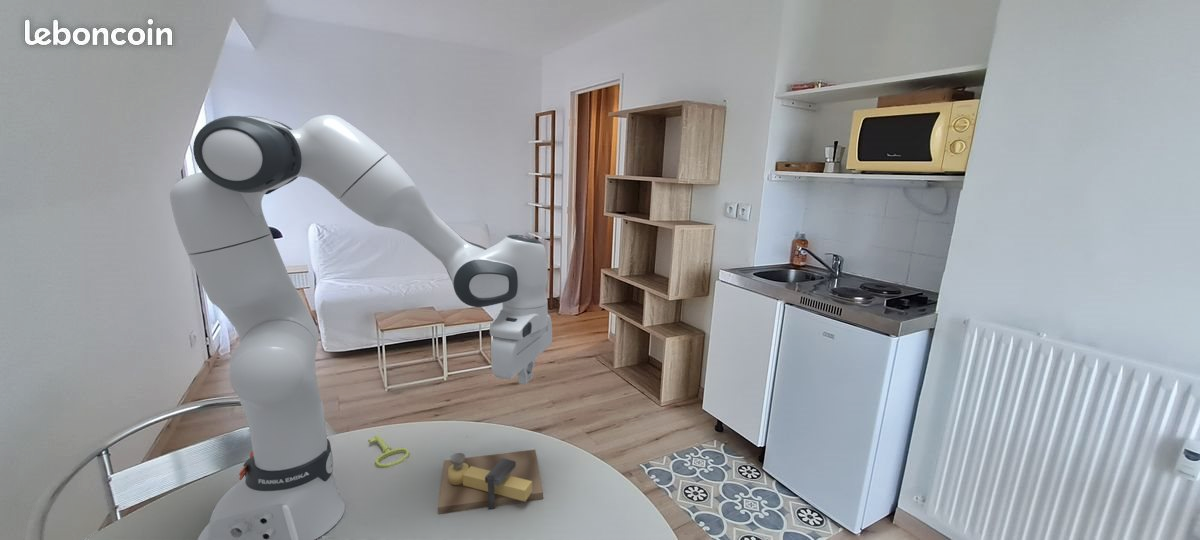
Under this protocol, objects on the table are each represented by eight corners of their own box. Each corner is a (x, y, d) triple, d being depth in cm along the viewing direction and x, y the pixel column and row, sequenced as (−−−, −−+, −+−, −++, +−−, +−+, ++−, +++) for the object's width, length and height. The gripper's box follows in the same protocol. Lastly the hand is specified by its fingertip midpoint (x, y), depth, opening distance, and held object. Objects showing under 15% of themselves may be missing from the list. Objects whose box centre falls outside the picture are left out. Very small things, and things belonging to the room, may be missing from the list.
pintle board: (437, 519, 88) (435, 487, 87) (444, 466, 104) (442, 438, 103) (544, 503, 93) (543, 473, 92) (535, 455, 109) (535, 428, 107)
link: (444, 482, 96) (444, 471, 96) (456, 470, 100) (455, 460, 99) (524, 503, 91) (523, 492, 90) (533, 490, 94) (533, 479, 94)
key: (378, 441, 114) (377, 433, 113) (414, 456, 108) (413, 448, 108) (350, 456, 107) (349, 448, 107) (387, 473, 102) (386, 465, 101)
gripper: (533, 301, 104) (533, 360, 107) (484, 330, 85) (486, 400, 88) (559, 304, 102) (559, 364, 105) (515, 334, 83) (516, 406, 86)
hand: (525, 381), depth 96 cm, fingers closed
